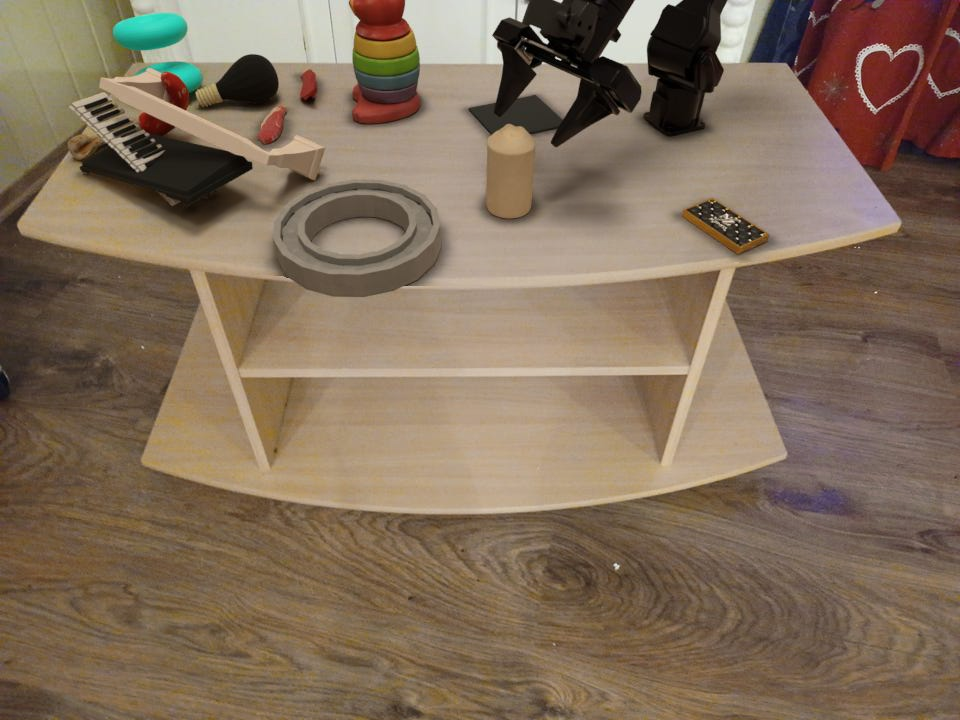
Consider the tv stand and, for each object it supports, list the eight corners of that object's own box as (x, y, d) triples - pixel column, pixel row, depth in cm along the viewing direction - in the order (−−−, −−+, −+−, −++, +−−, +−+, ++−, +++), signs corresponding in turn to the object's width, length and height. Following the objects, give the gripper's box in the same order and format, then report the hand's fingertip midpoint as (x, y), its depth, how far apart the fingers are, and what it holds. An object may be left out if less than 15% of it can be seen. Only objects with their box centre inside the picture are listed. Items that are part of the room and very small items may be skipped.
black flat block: (683, 208, 87) (712, 196, 89) (681, 216, 88) (710, 204, 90) (740, 246, 82) (770, 233, 83) (737, 254, 82) (767, 241, 84)
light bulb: (180, 71, 101) (262, 43, 101) (194, 80, 108) (271, 53, 108) (200, 119, 103) (280, 91, 103) (212, 125, 109) (288, 98, 109)
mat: (535, 96, 110) (535, 94, 109) (567, 126, 103) (568, 124, 103) (468, 109, 106) (468, 107, 106) (497, 141, 100) (497, 139, 100)
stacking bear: (352, 90, 110) (337, -38, 98) (419, 88, 111) (413, -40, 99) (352, 125, 103) (336, -10, 90) (424, 122, 104) (418, -12, 91)
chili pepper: (306, 99, 104) (317, 108, 105) (325, 72, 104) (336, 82, 105) (288, 92, 114) (298, 100, 115) (306, 68, 113) (316, 76, 115)
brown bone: (159, 89, 104) (176, 98, 104) (161, 106, 106) (177, 114, 106) (62, 138, 93) (80, 148, 93) (66, 156, 95) (84, 166, 95)
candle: (491, 221, 86) (493, 144, 79) (482, 196, 90) (483, 120, 83) (536, 216, 87) (542, 139, 80) (525, 191, 91) (530, 116, 84)
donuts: (192, 78, 114) (127, 93, 109) (171, 8, 108) (101, 21, 103) (214, 89, 107) (146, 106, 102) (193, 15, 101) (119, 30, 97)
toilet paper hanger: (84, 95, 86) (90, 59, 85) (144, 100, 96) (151, 68, 94) (272, 183, 83) (282, 147, 81) (315, 180, 93) (325, 147, 91)
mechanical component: (473, 252, 82) (473, 230, 80) (330, 320, 74) (326, 298, 72) (383, 184, 92) (381, 163, 90) (249, 238, 84) (243, 215, 81)
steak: (274, 139, 98) (252, 140, 98) (275, 143, 99) (254, 144, 99) (290, 104, 105) (270, 105, 105) (291, 108, 105) (271, 109, 105)
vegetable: (121, 115, 98) (161, 61, 90) (160, 124, 102) (201, 73, 95) (127, 145, 97) (168, 92, 89) (166, 153, 101) (208, 103, 94)
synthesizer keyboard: (187, 199, 80) (203, 260, 88) (252, 155, 85) (262, 216, 93) (54, 109, 85) (81, 174, 93) (123, 72, 90) (143, 138, 98)
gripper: (507, -62, 79) (431, 67, 81) (643, -16, 69) (552, 129, 71) (551, -1, 88) (482, 113, 90) (677, 46, 78) (595, 173, 81)
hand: (524, 130), depth 83 cm, fingers open, 9 cm apart
